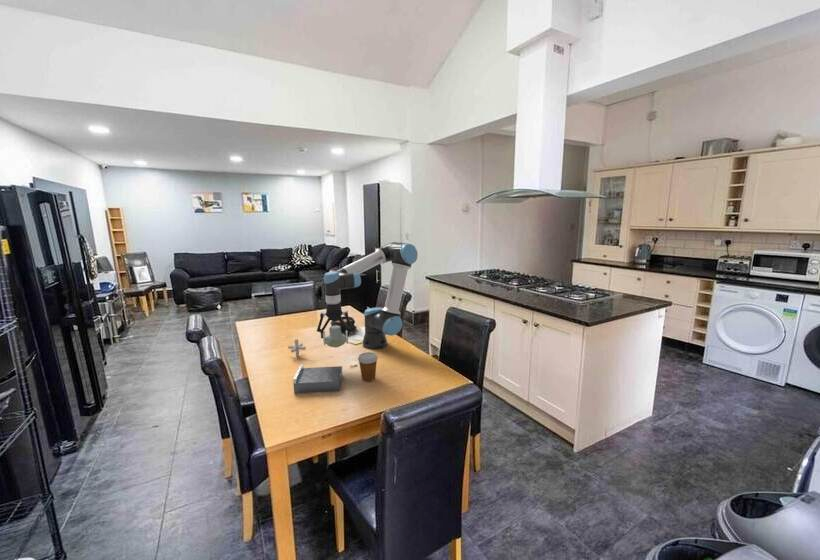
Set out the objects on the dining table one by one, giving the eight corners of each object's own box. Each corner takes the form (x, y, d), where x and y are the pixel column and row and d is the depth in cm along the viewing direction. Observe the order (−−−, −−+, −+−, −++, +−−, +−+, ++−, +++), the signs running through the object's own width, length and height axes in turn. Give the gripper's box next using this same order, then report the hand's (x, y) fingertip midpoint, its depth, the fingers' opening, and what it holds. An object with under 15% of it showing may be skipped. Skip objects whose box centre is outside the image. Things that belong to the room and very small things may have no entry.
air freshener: (325, 349, 176) (324, 330, 174) (325, 343, 184) (323, 325, 182) (347, 347, 179) (346, 328, 177) (346, 341, 187) (345, 323, 185)
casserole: (325, 328, 248) (324, 316, 247) (350, 324, 257) (349, 313, 256) (335, 338, 227) (334, 326, 225) (362, 333, 235) (361, 322, 234)
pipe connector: (301, 360, 193) (300, 343, 191) (284, 358, 195) (283, 341, 193) (309, 353, 203) (308, 337, 201) (294, 352, 205) (292, 335, 203)
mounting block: (342, 375, 174) (342, 362, 173) (339, 391, 158) (338, 377, 157) (301, 377, 172) (300, 364, 171) (294, 393, 156) (293, 379, 155)
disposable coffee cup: (370, 385, 164) (369, 361, 162) (354, 380, 169) (353, 357, 167) (382, 377, 172) (381, 354, 170) (367, 372, 177) (366, 350, 175)
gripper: (308, 305, 172) (311, 347, 176) (356, 303, 174) (358, 344, 179) (311, 301, 180) (314, 342, 184) (357, 299, 182) (359, 339, 186)
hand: (336, 343), depth 181 cm, fingers closed on air freshener, 11 cm apart
